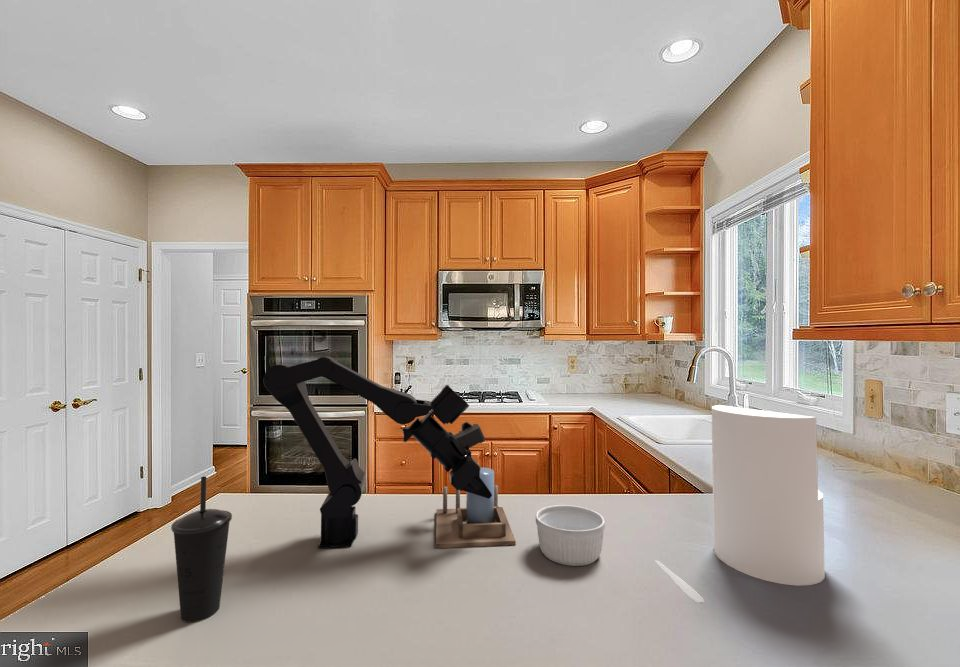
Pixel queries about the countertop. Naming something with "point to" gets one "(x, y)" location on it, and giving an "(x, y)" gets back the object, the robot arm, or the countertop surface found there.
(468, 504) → the pale blue pillar candle
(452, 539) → the drying rack
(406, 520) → the countertop surface
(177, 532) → the drinking cup
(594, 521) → the ramekin
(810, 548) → the cylinder
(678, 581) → the butter knife
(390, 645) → the countertop surface
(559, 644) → the countertop surface
